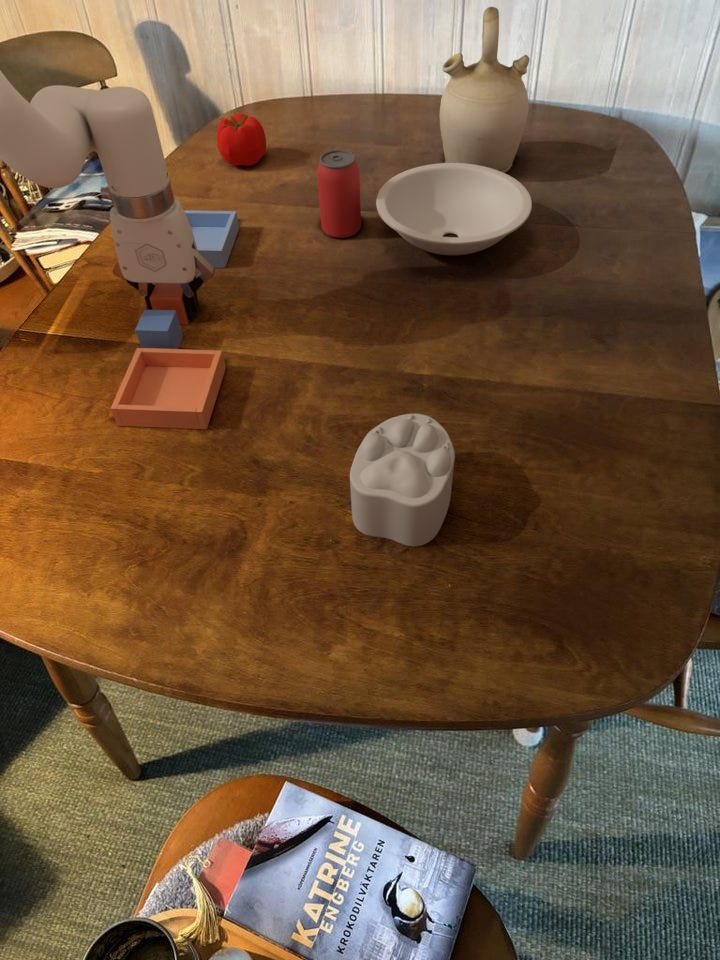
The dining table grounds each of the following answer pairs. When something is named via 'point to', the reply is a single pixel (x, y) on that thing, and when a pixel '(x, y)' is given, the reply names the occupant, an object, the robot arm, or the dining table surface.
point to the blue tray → (214, 234)
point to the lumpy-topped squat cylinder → (403, 480)
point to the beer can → (339, 193)
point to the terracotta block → (169, 300)
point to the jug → (484, 105)
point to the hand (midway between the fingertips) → (175, 313)
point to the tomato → (241, 140)
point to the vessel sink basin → (453, 206)
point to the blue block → (159, 329)
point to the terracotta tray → (169, 388)
